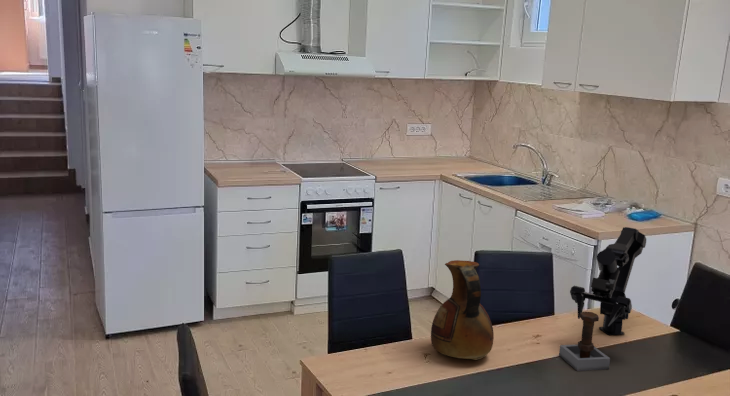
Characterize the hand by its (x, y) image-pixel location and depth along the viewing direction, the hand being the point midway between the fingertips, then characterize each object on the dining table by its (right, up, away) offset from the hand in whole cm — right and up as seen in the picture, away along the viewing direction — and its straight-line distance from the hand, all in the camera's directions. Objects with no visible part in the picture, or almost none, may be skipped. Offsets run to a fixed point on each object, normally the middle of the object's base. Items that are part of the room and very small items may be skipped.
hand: (592, 321), depth 208 cm
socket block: (-4, -12, -2) cm, 13 cm away
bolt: (-3, -12, -2) cm, 12 cm away
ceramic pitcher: (-42, -10, -1) cm, 44 cm away
